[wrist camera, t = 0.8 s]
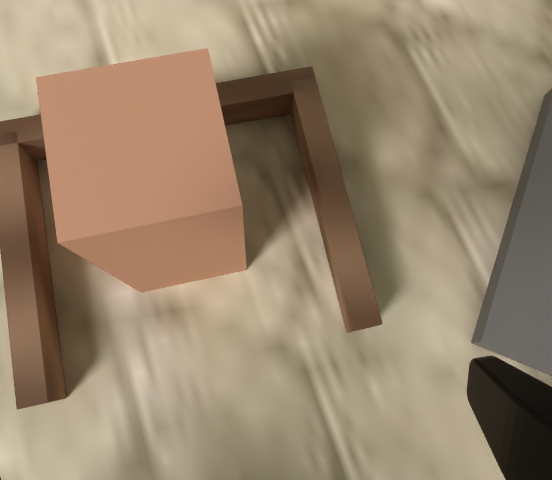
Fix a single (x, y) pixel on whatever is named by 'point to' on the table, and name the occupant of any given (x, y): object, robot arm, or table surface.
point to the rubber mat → (524, 264)
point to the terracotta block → (143, 170)
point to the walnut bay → (235, 109)
